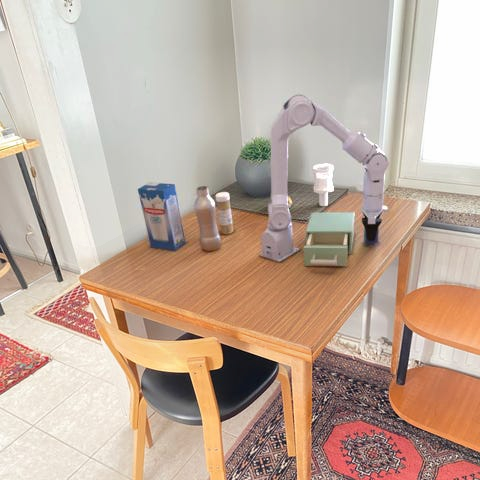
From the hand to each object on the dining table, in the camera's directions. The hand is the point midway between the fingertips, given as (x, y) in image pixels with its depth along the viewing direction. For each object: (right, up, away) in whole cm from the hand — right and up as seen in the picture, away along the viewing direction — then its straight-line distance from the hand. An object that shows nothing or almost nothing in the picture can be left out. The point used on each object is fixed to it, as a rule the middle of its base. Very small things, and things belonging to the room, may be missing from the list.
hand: (371, 237), depth 145 cm
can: (0, -1, +1) cm, 1 cm away
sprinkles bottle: (-44, +5, +20) cm, 48 cm away
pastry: (-24, +16, +33) cm, 44 cm away
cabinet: (-11, -1, +4) cm, 12 cm away
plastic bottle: (-49, -2, +10) cm, 50 cm away
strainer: (-9, +17, +31) cm, 37 cm away
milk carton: (-63, 0, +16) cm, 66 cm away
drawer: (-14, -7, -6) cm, 17 cm away
